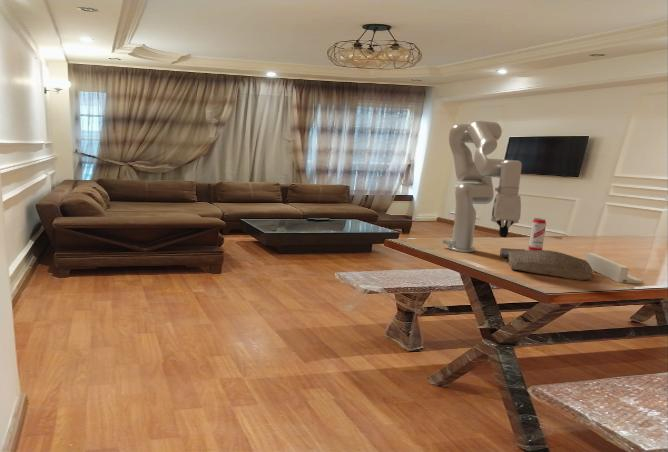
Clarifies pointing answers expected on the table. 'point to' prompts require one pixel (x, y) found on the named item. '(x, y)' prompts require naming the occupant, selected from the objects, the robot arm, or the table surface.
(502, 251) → the roller
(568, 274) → the stone tablet
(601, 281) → the table surface
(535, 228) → the beer can
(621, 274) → the rail
